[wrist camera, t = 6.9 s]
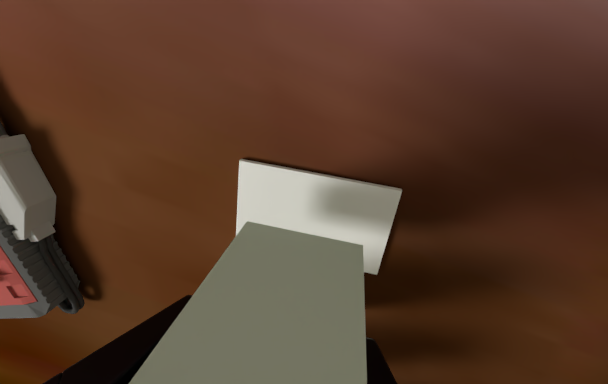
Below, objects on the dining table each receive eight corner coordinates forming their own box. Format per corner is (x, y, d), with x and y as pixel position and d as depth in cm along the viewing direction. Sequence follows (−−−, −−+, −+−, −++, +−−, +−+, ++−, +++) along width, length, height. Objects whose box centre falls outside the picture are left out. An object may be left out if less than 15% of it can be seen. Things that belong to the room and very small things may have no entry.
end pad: (376, 271, 16) (377, 274, 16) (237, 241, 17) (235, 243, 16) (401, 188, 14) (402, 191, 14) (241, 158, 15) (239, 160, 14)
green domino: (354, 279, 13) (344, 807, 4) (244, 255, 13) (-5, 666, 4) (362, 245, 12) (379, 801, 3) (247, 221, 12) (-52, 630, 3)
